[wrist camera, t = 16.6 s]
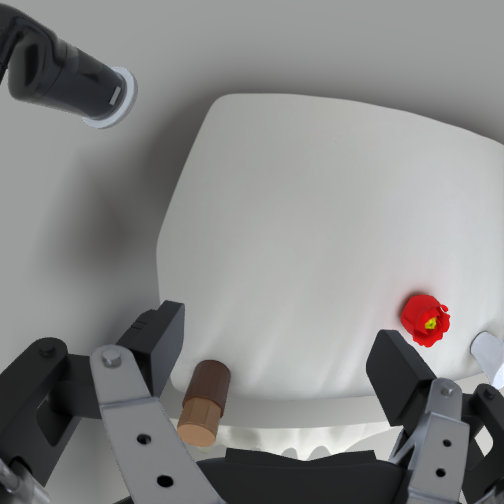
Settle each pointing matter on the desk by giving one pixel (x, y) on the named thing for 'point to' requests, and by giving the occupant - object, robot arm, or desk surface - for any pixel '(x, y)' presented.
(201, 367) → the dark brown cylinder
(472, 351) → the cup
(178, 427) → the brown octagonal prism
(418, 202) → the desk surface
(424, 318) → the flower
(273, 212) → the desk surface
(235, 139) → the desk surface
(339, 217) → the desk surface
